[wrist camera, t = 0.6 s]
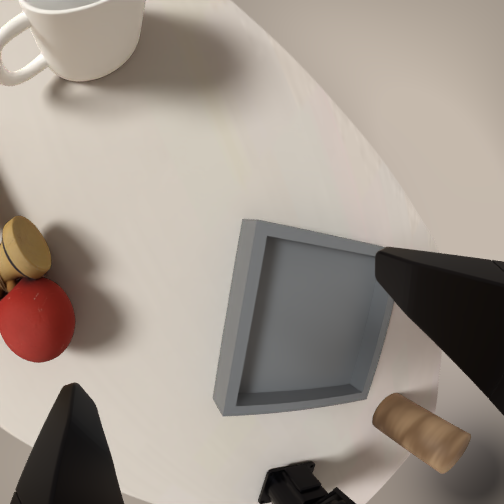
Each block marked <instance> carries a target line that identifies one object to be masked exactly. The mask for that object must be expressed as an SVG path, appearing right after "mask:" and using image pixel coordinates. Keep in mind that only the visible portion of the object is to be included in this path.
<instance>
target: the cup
mask: <svg viewBox="0 0 504 504" xmlns="http://www.w3.org/2000/svg"><path fill="white" fill-rule="evenodd" d="M18 1H19V3H20V6H21V8H22V10H23V12H22V13H20V14H19V15H17V16H16V17H14V18H13V19H12V20H10V21H9V22H8V23H6V24H5V25H4V26H3V27H2V28H1V29H0V84H2V85H5V86H15V85H19V84H21V83H24V82H26V81H28V80H29V79H31V78H33V77H34V76H36V75H37V74H38V73H40V72H41V71H43V70H44V69H45V68H47V67H49V68H50V70H51V71H52V72H53V73H55V74H56V75H57V76H59V77H61V78H63V79H66V80H70V81H90V80H94V79H98V78H101V77H103V76H106V75H108V74H110V73H112V72H113V71H115V70H116V69H118V68H119V67H120V66H121V65H123V64H124V63H125V62H126V61H127V60H128V59H129V58H130V56H131V55H132V54H133V52H134V50H135V48H136V46H137V44H138V41H139V37H140V33H141V26H142V20H143V13H144V7H145V1H146V0H18ZM28 28H30V30H31V32H32V34H33V37H34V39H35V41H36V43H37V45H38V48H39V50H40V52H41V54H40V55H39V56H38V57H37V58H35V59H34V60H33V61H32V62H31V63H29V64H28V65H27V66H25V67H24V68H22V69H20V70H18V71H14V72H11V71H8V70H7V69H6V68H5V66H4V65H3V62H2V59H1V53H2V49H3V48H4V46H5V45H6V44H7V43H8V42H9V41H11V40H12V39H13V38H15V37H16V36H17V35H19V34H20V33H22V32H23V31H25V30H27V29H28Z"/></svg>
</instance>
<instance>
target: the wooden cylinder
mask: <svg viewBox="0 0 504 504" xmlns="http://www.w3.org/2000/svg"><path fill="white" fill-rule="evenodd" d="M372 423H373V425H374V426H375V427H376V428H377V429H379V430H380V431H381V432H383V433H384V434H385V435H387V436H388V437H390V438H391V439H392V440H394V441H395V442H396V443H398V444H399V445H401V446H402V447H403V448H405V449H406V450H408V451H409V452H411V453H412V454H413V455H415V456H416V457H418V458H419V459H421V460H422V461H423V462H425V463H426V464H428V465H429V466H431V467H432V468H434V469H435V470H437V471H438V472H440V473H441V474H444V473H446V472H447V471H449V470H450V469H451V468H452V467H453V466H454V465H455V464H456V462H457V461H458V460H459V459H460V457H461V456H462V455H463V453H464V452H465V450H466V448H467V446H468V444H469V442H470V439H471V435H470V434H469V433H467V432H465V431H463V430H462V429H460V428H458V427H456V426H454V425H453V424H451V423H449V422H447V421H445V420H443V419H442V418H440V417H438V416H437V415H435V414H433V413H431V412H430V411H428V410H426V409H424V408H423V407H421V406H419V405H417V404H416V403H414V402H412V401H411V400H409V399H407V398H405V397H404V396H402V395H400V394H399V393H393V394H391V395H389V396H388V397H386V398H385V399H384V400H383V401H382V402H381V403H380V405H379V406H378V407H377V409H376V411H375V413H374V415H373V420H372Z"/></svg>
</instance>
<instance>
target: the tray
mask: <svg viewBox="0 0 504 504" xmlns="http://www.w3.org/2000/svg"><path fill="white" fill-rule="evenodd" d="M383 248H385V247H381V246H377V245H373V244H368V243H364V242H360V241H355V240H351V239H346V238H342V237H337V236H333V235H328V234H323V233H319V232H314V231H309V230H305V229H300V228H295V227H290V226H286V225H281V224H276V223H271V222H266V221H261V220H252V219H242V225H241V231H240V236H239V242H238V248H237V254H236V259H235V265H234V271H233V277H232V283H231V289H230V295H229V301H228V307H227V313H226V319H225V325H224V331H223V337H222V343H221V349H220V356H219V362H218V368H217V375H216V381H215V387H214V394H213V400H214V401H215V403H216V405H217V407H218V409H219V411H220V413H221V414H222V416H240V415H256V414H268V413H279V412H288V411H297V410H305V409H312V408H319V407H326V406H332V405H338V404H344V403H349V402H355V401H360V400H365V399H367V396H368V393H369V390H370V387H371V384H372V380H373V377H374V374H375V371H376V368H377V364H378V361H379V358H380V354H381V351H382V347H383V343H384V340H385V336H386V332H387V328H388V324H389V320H390V316H391V312H392V308H393V303H394V300H393V299H392V298H391V297H390V295H389V294H388V293H387V292H386V291H385V290H384V289H383V287H382V286H381V285H380V284H379V283H378V282H377V280H376V278H375V255H376V252H377V251H379V250H381V249H383Z"/></svg>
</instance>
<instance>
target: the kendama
mask: <svg viewBox="0 0 504 504" xmlns="http://www.w3.org/2000/svg"><path fill="white" fill-rule="evenodd" d="M50 267H51V254H50V250H49V248H48V245H47V243H46V241H45V239H44V237H43V236H42V234H41V233H40V231H39V230H38V229H37V228H36V226H35V225H34V224H33V223H32V222H31V221H29V220H28V219H26V218H25V217H23V216H15V217H14V218H12V219H11V220H10V221H8V222H7V223H6V225H5V226H4V228H3V234H2V242H1V244H0V333H1V335H2V337H3V339H4V341H5V343H6V344H7V346H8V347H9V348H10V349H11V350H12V351H13V352H14V353H15V354H16V355H18V356H19V357H21V358H23V359H25V360H28V361H31V362H38V363H40V362H46V361H49V360H52V359H54V358H56V357H58V356H59V355H60V354H61V353H63V351H64V350H65V349H66V348H67V346H68V345H69V343H70V342H71V339H72V337H73V333H74V328H75V315H74V310H73V307H72V304H71V302H70V300H69V298H68V296H67V295H66V293H65V292H64V291H63V289H62V288H61V287H60V286H59V285H57V284H56V283H55V282H53V281H52V280H50V279H47V278H45V277H42V276H43V275H44V274H45V273H46V272H47V271H48V270H49V269H50Z"/></svg>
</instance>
